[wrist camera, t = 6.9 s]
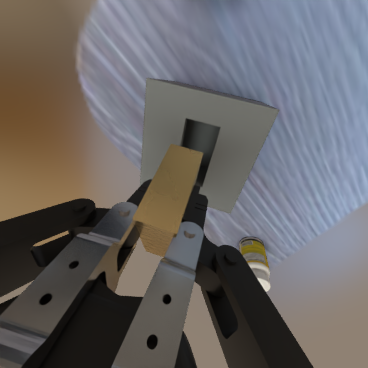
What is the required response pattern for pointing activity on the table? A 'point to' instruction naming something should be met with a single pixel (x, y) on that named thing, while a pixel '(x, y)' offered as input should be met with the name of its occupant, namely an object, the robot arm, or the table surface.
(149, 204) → the yellow wooden block
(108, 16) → the table surface
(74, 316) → the robot arm
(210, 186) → the coin box
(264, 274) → the supplement bottle
